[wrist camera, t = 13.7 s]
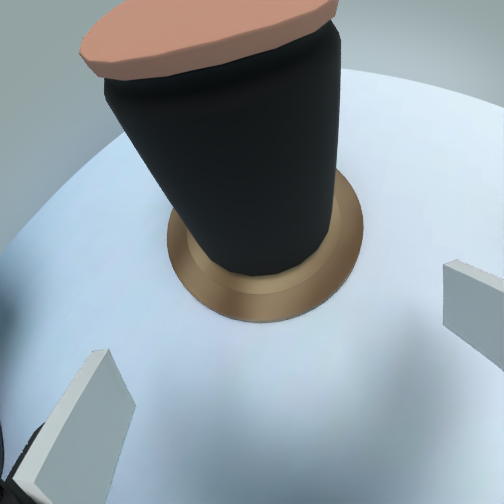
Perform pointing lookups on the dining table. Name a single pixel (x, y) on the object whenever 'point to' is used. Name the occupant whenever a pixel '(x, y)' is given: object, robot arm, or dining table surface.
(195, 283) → the trivet
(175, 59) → the coffee jar
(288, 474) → the dining table surface
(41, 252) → the dining table surface
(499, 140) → the dining table surface
